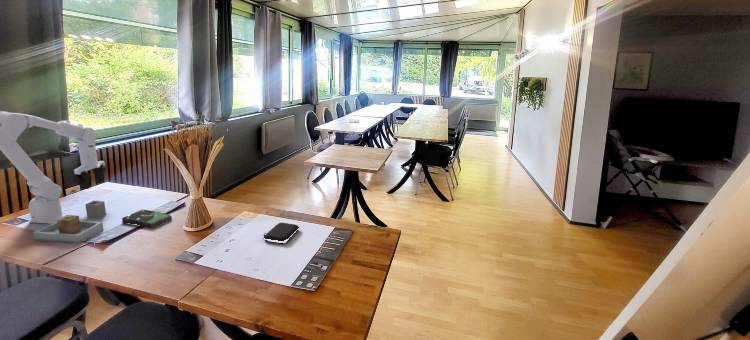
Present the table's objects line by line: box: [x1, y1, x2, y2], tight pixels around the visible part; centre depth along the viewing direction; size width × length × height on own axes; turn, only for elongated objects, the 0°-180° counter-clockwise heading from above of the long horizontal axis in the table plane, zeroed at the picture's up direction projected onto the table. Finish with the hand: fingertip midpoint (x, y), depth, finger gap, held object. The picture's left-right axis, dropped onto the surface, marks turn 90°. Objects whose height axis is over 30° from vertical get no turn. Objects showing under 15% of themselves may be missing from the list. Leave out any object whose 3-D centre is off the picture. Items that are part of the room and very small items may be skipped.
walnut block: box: [57, 214, 81, 234], centre depth 141 cm, size 4×4×6 cm
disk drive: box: [121, 209, 173, 229], centre depth 157 cm, size 10×3×15 cm
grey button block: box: [85, 200, 107, 220], centre depth 158 cm, size 4×4×6 cm
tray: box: [33, 220, 104, 245], centre depth 142 cm, size 16×12×3 cm
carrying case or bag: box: [263, 222, 300, 241], centre depth 151 cm, size 11×3×15 cm
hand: (92, 185), depth 166 cm, fingers open, 7 cm apart
